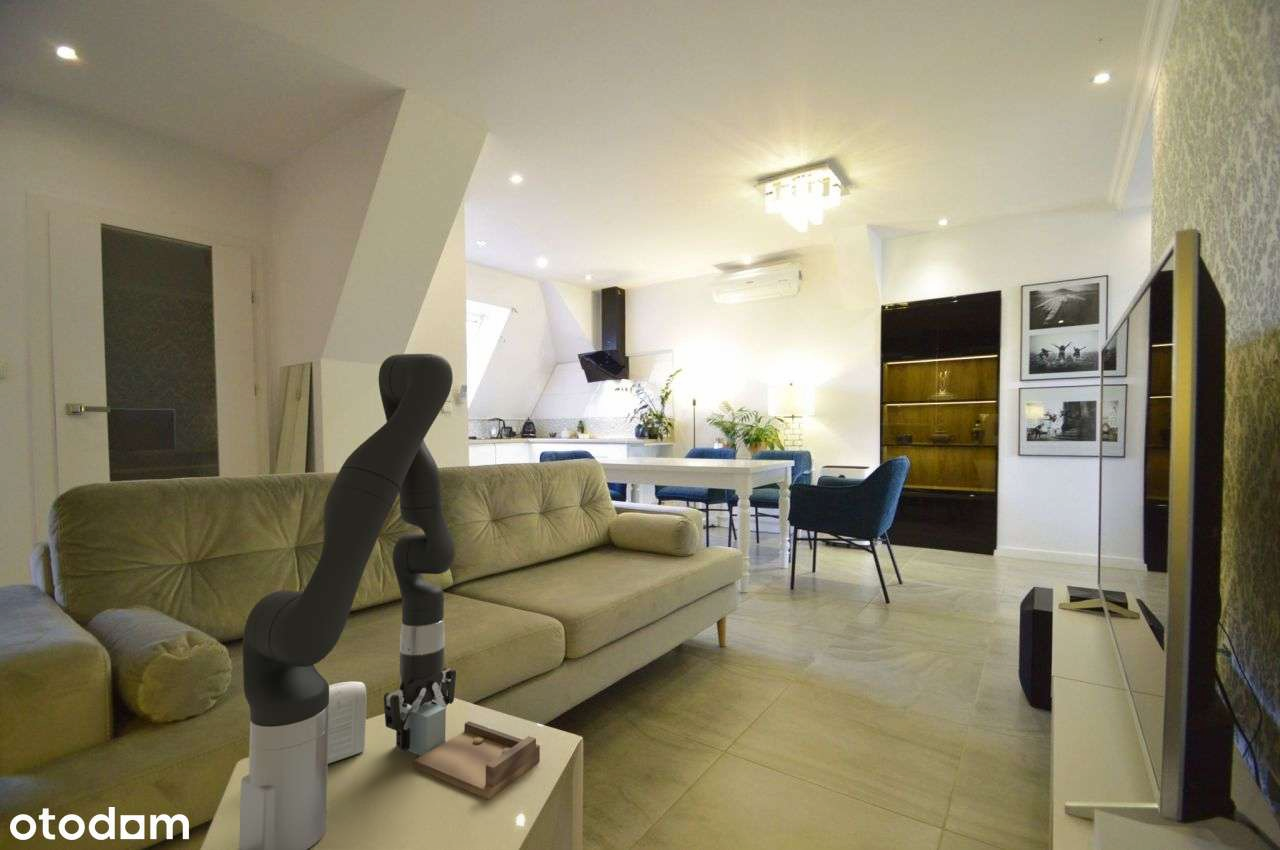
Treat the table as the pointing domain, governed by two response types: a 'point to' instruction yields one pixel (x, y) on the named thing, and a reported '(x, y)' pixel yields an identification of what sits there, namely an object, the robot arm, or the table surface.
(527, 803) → the table surface
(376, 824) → the table surface
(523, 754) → the board
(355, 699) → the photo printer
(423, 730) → the tall pale blue block
